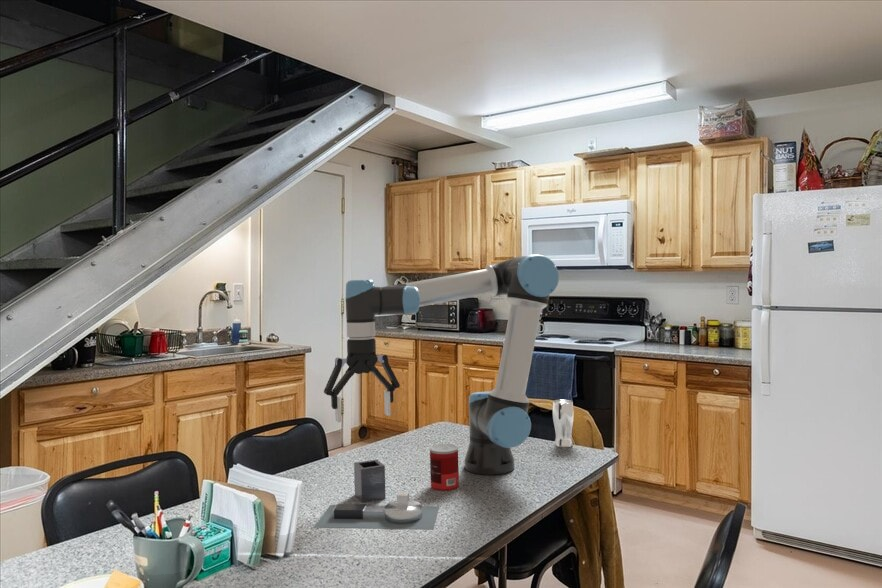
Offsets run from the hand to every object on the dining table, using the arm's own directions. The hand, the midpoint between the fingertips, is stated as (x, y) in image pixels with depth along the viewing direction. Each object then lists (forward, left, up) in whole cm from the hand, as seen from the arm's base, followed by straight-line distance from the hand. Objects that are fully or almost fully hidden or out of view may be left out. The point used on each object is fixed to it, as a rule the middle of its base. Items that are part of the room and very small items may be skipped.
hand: (363, 418), depth 157 cm
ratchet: (-6, +14, -21) cm, 26 cm away
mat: (-6, +14, -21) cm, 26 cm away
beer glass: (-57, -51, -21) cm, 80 cm away
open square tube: (-1, +1, -21) cm, 21 cm away
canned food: (-20, -8, -21) cm, 30 cm away
